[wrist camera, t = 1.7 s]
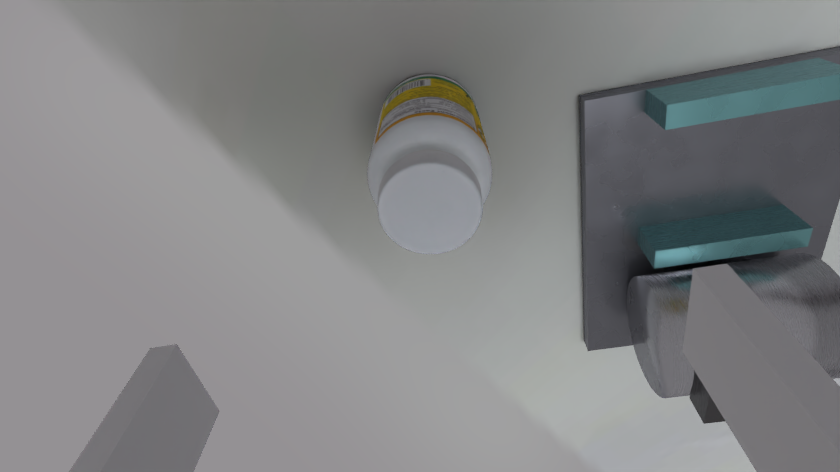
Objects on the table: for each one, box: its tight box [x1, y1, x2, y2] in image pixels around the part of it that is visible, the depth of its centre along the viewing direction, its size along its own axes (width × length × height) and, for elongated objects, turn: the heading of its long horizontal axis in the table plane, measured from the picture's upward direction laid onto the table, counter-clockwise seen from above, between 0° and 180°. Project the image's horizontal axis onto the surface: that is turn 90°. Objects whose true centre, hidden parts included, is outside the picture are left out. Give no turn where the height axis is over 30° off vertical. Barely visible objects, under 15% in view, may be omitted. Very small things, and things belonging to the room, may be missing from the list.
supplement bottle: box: [367, 74, 492, 254], centre depth 22 cm, size 5×5×10 cm
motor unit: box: [579, 47, 840, 423], centre depth 25 cm, size 18×14×10 cm
